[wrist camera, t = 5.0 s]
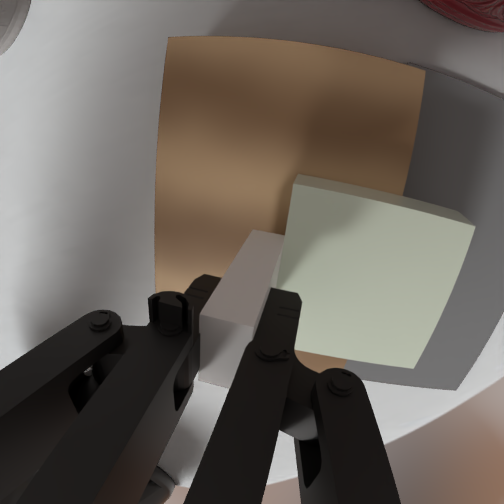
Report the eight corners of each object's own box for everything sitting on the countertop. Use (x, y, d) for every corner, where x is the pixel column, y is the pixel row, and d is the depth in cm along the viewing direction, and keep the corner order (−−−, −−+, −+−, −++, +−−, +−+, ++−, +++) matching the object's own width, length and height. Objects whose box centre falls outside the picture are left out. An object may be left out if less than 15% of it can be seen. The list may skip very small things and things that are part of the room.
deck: (331, 361, 23) (328, 400, 20) (181, 326, 25) (159, 358, 21) (405, 79, 14) (425, 70, 11) (198, 49, 16) (168, 37, 13)
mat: (455, 387, 22) (456, 390, 21) (327, 370, 24) (327, 373, 23) (557, 131, 12) (561, 131, 12) (407, 63, 14) (409, 62, 14)
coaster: (407, 342, 16) (413, 368, 14) (272, 318, 18) (265, 343, 16) (457, 211, 13) (475, 226, 11) (297, 173, 14) (293, 183, 12)
